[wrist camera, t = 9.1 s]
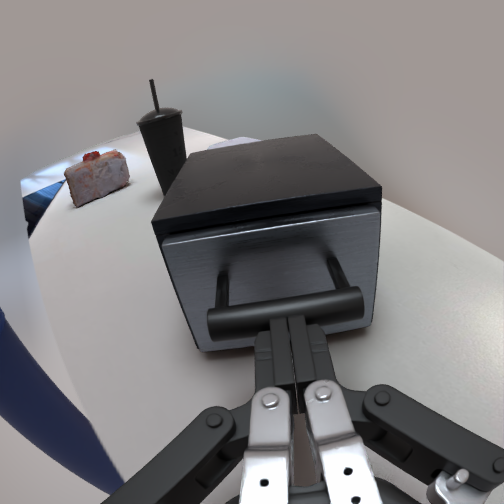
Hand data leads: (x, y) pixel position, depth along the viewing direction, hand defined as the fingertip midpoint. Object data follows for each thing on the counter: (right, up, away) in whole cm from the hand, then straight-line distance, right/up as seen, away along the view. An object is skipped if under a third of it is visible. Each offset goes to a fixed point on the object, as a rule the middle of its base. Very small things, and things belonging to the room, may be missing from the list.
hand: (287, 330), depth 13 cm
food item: (-34, +16, +49) cm, 62 cm away
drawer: (+1, 0, +11) cm, 11 cm away
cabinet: (+1, +1, +15) cm, 15 cm away
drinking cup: (-14, +14, +39) cm, 44 cm away
